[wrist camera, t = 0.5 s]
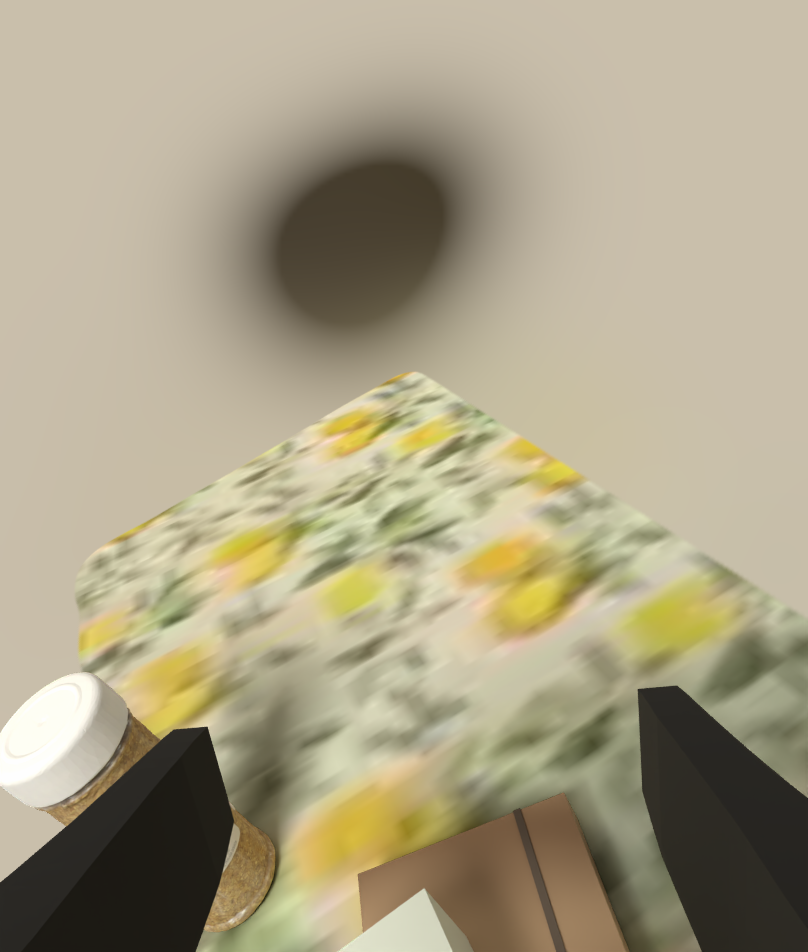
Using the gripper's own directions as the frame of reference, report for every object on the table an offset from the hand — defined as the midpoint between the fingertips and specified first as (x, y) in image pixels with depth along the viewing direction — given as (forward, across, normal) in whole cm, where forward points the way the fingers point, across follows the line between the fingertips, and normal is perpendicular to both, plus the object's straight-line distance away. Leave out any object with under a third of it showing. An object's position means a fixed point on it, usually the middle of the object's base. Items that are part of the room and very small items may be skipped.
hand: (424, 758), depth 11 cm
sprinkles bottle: (+14, +12, +19) cm, 26 cm away
